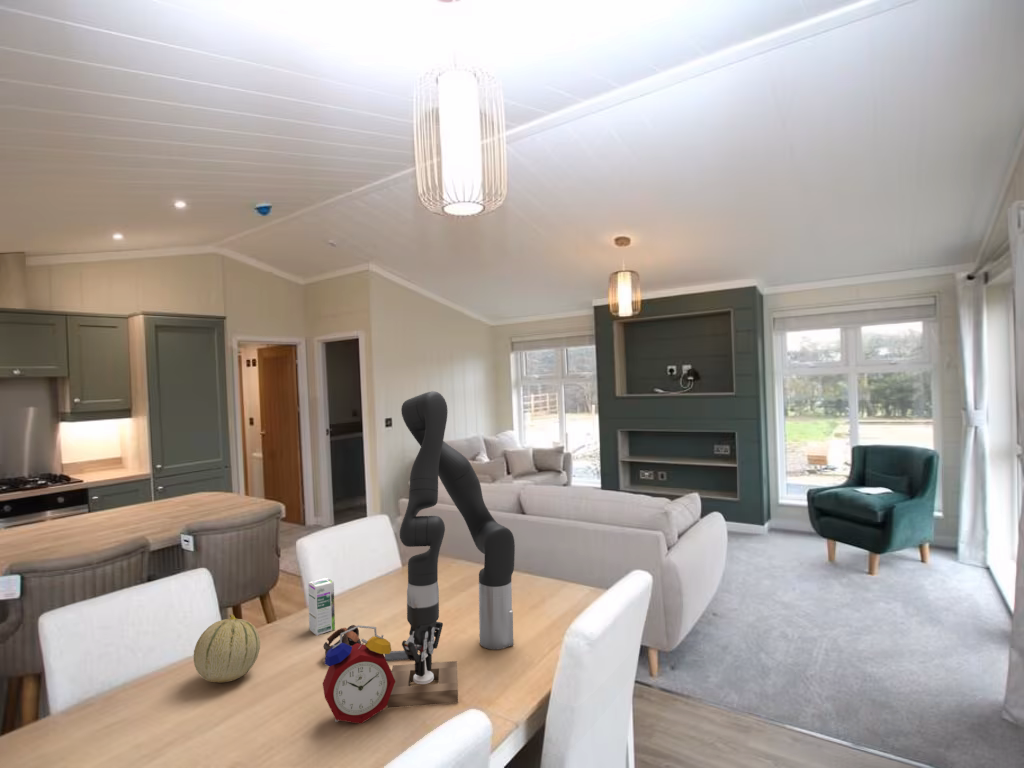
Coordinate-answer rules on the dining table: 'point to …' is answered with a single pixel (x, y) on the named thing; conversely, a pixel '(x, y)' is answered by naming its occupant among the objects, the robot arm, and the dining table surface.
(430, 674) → the chess piece
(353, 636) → the pottery mug
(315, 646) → the dining table surface
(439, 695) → the block
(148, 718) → the dining table surface
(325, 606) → the syrup box
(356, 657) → the alarm clock
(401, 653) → the stand rails
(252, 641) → the cantaloupe
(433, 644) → the robot arm
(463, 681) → the dining table surface
